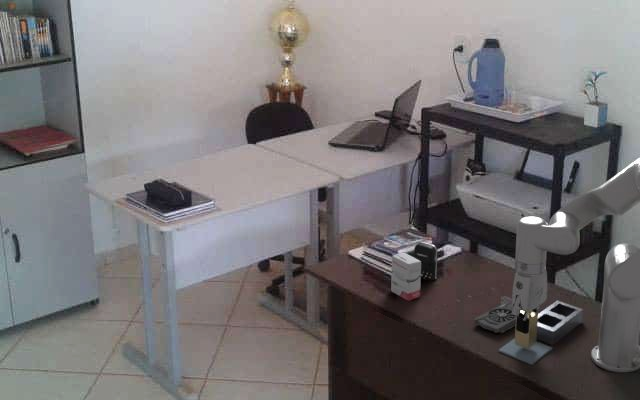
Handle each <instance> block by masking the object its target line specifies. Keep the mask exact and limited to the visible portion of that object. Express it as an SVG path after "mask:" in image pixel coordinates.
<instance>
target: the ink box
mask: <svg viewBox="0 0 640 400" xmlns="http://www.w3.org/2000/svg"><path fill="white" fill-rule="evenodd" d="M390 277H391V280H390V281H391V283H390V284H391V285H390V286H391V287H390V288H391V290H390V291H391V292H392V293H393V294H395V295H397V296H399V297H401V298H402V299H404V300H406V301H407V302H410V301H412V300H414V299H417V298H420V297H421V279H422V278H421V261H419V260H418V259H416V258H414V256H412V255H409V254H408V253H406V252H404V251H403V252H400V253H396V254H394V255H393V254H392V255H391V276H390Z"/></svg>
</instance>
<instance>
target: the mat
mask: <svg viewBox="0 0 640 400" xmlns="http://www.w3.org/2000/svg"><path fill="white" fill-rule="evenodd" d="M552 350H553V347H552V346H549V345H546V344H544V343H541V342H539V341H536V344H535V345H533V346H532V347H531V348H529V349H526V348H523V347H521V346H518V345H515V337H513V339H512V340H510V341H509V342H507V343H506V344H505V345H503V346H502V347H501V348H499V349H498V352H499V353H501V354H504V355H506V356H509V357H512V358H514V359H516V360H519V361H522V362H524V363H527V364H529V365H531V366H532V365H534V364H535V363H536V362H537V361H539V360H540V359H541V358H543V357H544V356H545V355H546V354H548V353H549V352H551V351H552Z"/></svg>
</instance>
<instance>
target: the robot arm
mask: <svg viewBox="0 0 640 400" xmlns="http://www.w3.org/2000/svg"><path fill="white" fill-rule="evenodd" d="M638 204H640V157H638V158H636V159H635V160H634V161H632V162H631V163H629V165H627V166H626V167H625V168H623V169H622V170H620V171H619V172H618V173H617V174H615V175H614V176H612V177H611V178H610V179H608V180H607V181H606V182H604V183H603V184H601V185H600V186H598V187H596V188H593V189H591V190H589V191H587V192H585V193H582V194H581V195H578V196H576V197H575V198H574V199H572V200H570V201H569V202H568V203H566V204H565V205H564V206H563V207H561V208H560V209H558V210H557V211H556V212H555V213H554V214H553V215H552V217H551V218H550V220H549V223H548V222H547V221H546V220H545V219H543V218H542V217H539V216H532V215H531V216H524V217H522V218H520V219H519V220H518V222H517V224H516V240H515V241H516V242H515V260H514V261H515V262H514V264H515V265H514V271H515V273H514V278H513V284H512V285H513V286H512V292H511V299H512V301H511V303H512V306H513V310H512V315H515V316H516V318H517V321H516V326H515V328H516V330H517V331H519V332H522V333H525V334H527V333H528V323H529V320H527V317H528V312H530V311H534V312H537V313H540V306H541V305H542V304H543V303H544V302H546V300H547V296H548V273H547V268H546V267H547V252H548V253H549V252H550V253H553V254H557V255H564V256H566V255H567V256H568V255H570V254H573V253H575V252H576V251H577V250H578V248H579V247H580V243H581V242H580V236H581V235H580V230H582V229H584V227H586V226H587V225H589V224H590V223H591V222H593V221H595V220H596V219H599V218H601V217H604V216H616V217H617V216H622V215H624V214H626V213H627V212H629V211H630V210H632V209H633V208H634V207H636V206H637V205H638ZM603 273H604V274H603V275H604V276H603V277H604V278H603V289H602V290H603V291H602V302H601V310H600V311H601V314H600V322H599V334H598V342H597V343H598V344H597V345H596V346H594V347H593V348H592V349H591V352H590V358H591V360H592V362H593V363H594V364H595V365H597V366H598V367H600V368H602V369H604V370H607V371H610V372H614V373H630V372H631V373H632V372H634V371H637V370H639V369H640V345H639V341H640V247H638V246H637V245H635V244H633V243H632V244H631V243H627V242H626V243H625V242H623V243H618V244H616V245H614V246H613V247H611V249H610V250H609V251H608V252H607V255H606V256H605V261H604V272H603ZM521 310H522V311H524V314H523V313H521V312H520V311H521ZM537 323H538V322H537Z"/></svg>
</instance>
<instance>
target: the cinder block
mask: <svg viewBox="0 0 640 400" xmlns="http://www.w3.org/2000/svg"><path fill="white" fill-rule="evenodd" d="M583 314H584V309H583V308H580V307H578V306H574V305H572V304H569V303H565V302H563V301H560V300H555V302H553V303H552V304H550V305H549V306H547V307H546V308H545V309H543V310H542V311H539V312H538V323H537V338H536V340H539V341H542V342H544V343H547V344H550V345H554V344H556V343H557V342H558V341H560V340H561V339H562V338H563V337H565V336H566V335H567V334H569V333H570V332H571V331H573V330H574V329H575V328H577V327H578V326H579V325H580V324H582V323H583V318H584V317H583V316H584V315H583Z"/></svg>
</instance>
